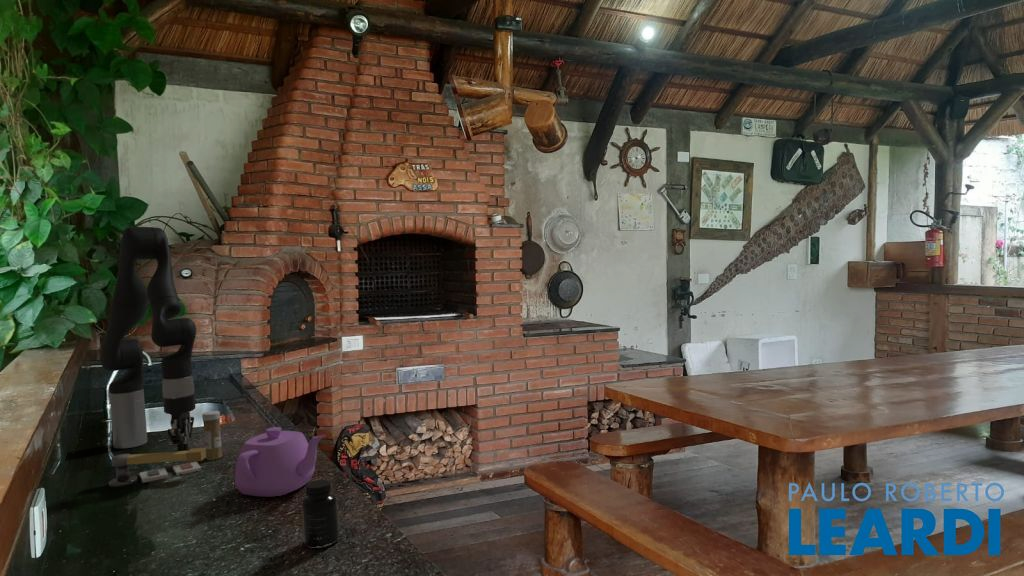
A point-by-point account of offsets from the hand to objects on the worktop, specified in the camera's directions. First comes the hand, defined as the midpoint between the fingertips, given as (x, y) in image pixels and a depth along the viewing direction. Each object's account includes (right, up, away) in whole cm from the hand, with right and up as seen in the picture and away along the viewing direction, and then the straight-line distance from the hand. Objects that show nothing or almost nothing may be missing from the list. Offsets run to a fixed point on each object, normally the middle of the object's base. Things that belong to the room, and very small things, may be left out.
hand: (183, 457), depth 173 cm
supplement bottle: (+50, -6, -44) cm, 67 cm away
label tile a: (-8, -5, -1) cm, 9 cm away
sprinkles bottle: (+2, -4, +13) cm, 14 cm away
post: (-13, -6, -5) cm, 15 cm away
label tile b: (-1, -5, +4) cm, 6 cm away
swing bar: (-5, 0, -4) cm, 6 cm away
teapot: (+30, -5, -13) cm, 33 cm away
